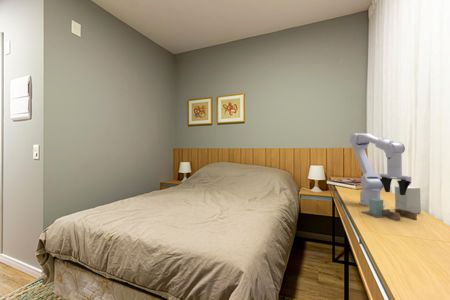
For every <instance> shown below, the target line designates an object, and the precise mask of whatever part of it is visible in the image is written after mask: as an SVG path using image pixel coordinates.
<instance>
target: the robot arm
mask: <svg viewBox="0 0 450 300" xmlns="http://www.w3.org/2000/svg"><path fill="white" fill-rule="evenodd" d="M349 142H350V145H351V147H352V148H353V149H352V150H353V152H354V154H355V157H356V160H357V162H358V165H359V167H360V170H361V174H362V175H361V177H360V178H359V179H360V186H361V188H362V189H361V190H360V192H359V197H360V198H359V200H360V201H359V204H360V205H364V206H367V207H369V199H373V198H376V199H381V191H382V189H383V188H384V192H385V193H391V184H392V180H397V181H396V182H397V184H398V185H397V186H399V191H400V195H405V193H406V190H407V188H408V186H410V185H411V184H412V176H408V175H403V167H402V166H403V162H402V161H403V159H402V158H403V157H402V155H403V154H404V152H405V151H406V148H405V145H404V143H402V142H394V140H389V139H387V137H379V138H378V137H377V136H374V135H373V134H371V133H369V132H366V133H355V132H354V133H352V134H351V135H350V138H349ZM369 144H374V145H375V148H378V149H379V150H382V151H383V152H384V154H385V158H386V168H387V169H386V171H387V172H386V173H379V174H378V173H375V172H374V170H373V167H372V165H371V162H370V160H369V158H368V156H367V153H366V150H365V149H367V148H368V147H369ZM384 207H385V205H383V208H384Z"/></svg>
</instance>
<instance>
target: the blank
mask: <svg viewBox="0 0 450 300" xmlns="http://www.w3.org/2000/svg"><path fill="white" fill-rule="evenodd" d="M383 206H384V200H383V199H381V198H380V199H376V198H373V199H369V206H368V208H369V210H368V211H369V213H372V214H375V215H383V210H384V207H383Z"/></svg>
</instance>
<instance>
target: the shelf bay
mask: <svg viewBox="0 0 450 300" xmlns="http://www.w3.org/2000/svg"><path fill="white" fill-rule="evenodd" d="M417 214H418V213H415V212H411V211H407V210H404V209H395V208H394V211H391V209H387V208H386V209H384V208H383V215H384V216H387V217H386V218H389V219H391V220H395V221H398V222H400V221H401V216H402V217H405V218H408V219H411V220H414V221H415V220H417V219H418V215H417Z"/></svg>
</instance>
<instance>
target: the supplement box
mask: <svg viewBox="0 0 450 300" xmlns="http://www.w3.org/2000/svg"><path fill="white" fill-rule="evenodd" d="M394 201H395V205H394V207H395V208H394V210H395V209H404V210H407V211H411V212H415V213H417V214H421V212H422V207H421V206H422V205H421V187H414V186H410V185H409V186H408V188H407V190H406V193H405V195H400V191H399V185H395V186H394Z"/></svg>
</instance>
